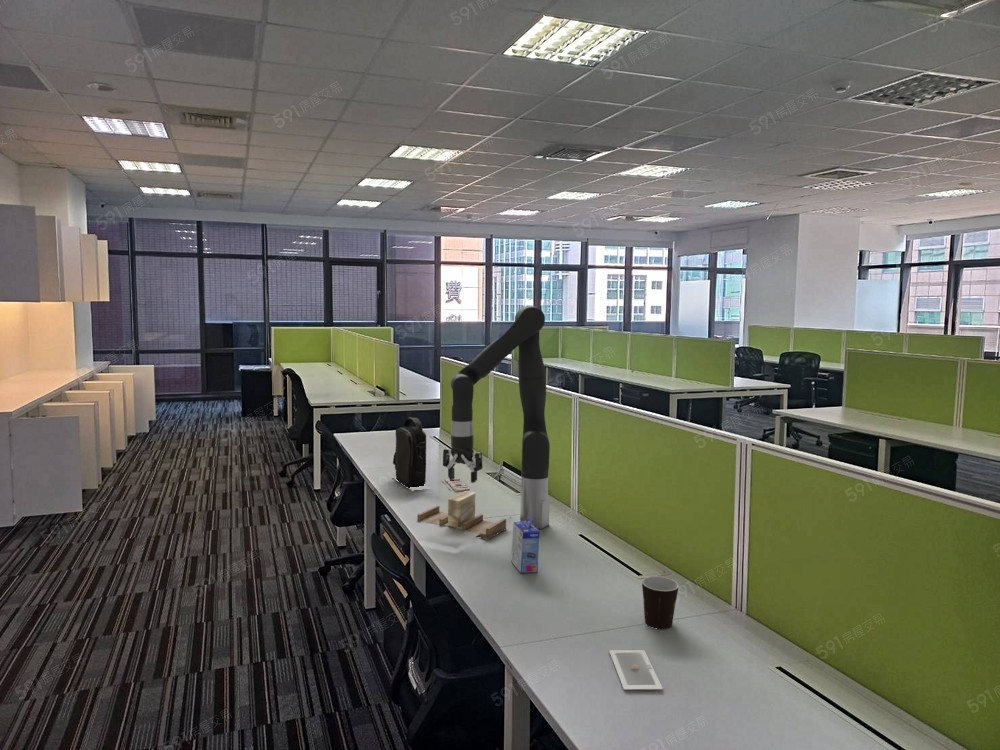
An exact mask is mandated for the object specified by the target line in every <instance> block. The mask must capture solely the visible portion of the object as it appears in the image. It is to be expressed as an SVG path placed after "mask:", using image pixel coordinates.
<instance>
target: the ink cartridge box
mask: <svg viewBox="0 0 1000 750" xmlns="http://www.w3.org/2000/svg"><path fill="white" fill-rule="evenodd" d="M528 520H530V522H529V521H528ZM532 522H533V519H532V518H531V517H530V516H529V517H528V519H527V520H526V521H521V522H520V521H513V523H512V542H511V557H510V558H511V562H512V563H513V565H514V566H515V568H516V569H517V570H518V571H519V573H520V574H524V573H525V574H528V573H529V574H531V573H538V570H539V569H538V568H539V566H538V565H539V551H540V550H539V549H540V548H539V546H540V545H539V544H540V530H539V529H536V528H535V527H534V526H533V525H532Z"/></svg>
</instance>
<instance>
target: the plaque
mask: <svg viewBox="0 0 1000 750" xmlns="http://www.w3.org/2000/svg"><path fill="white" fill-rule="evenodd" d="M453 480H454V481H450V479H449V478H445V479H444V481H445V483H447V482H448V483H447V485H449V487H450V486H451V487H452V489H451V490H453V491H454V492H455V493H457V492H458V491H459V492H471V493H475V491H474V490H470V487H468V486H467V484H465V483H464V481H463V480H461V479H460V477H457V478H455V477H454V479H453ZM451 487H450V488H451Z"/></svg>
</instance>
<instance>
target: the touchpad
mask: <svg viewBox="0 0 1000 750" xmlns="http://www.w3.org/2000/svg"><path fill="white" fill-rule="evenodd" d="M608 652H609V654H610V656H611V659H612V662H613V663H614V667H615V670H616V672H617V675H618V677H619V680H620V682H621V685H622V687H623V688H622V689H623V690H664V688H663V686H662V684H661V682H660V680H659V678H658V675H657V673H656V671H655V669H654V667H653V665H652V663H651V661H650V659H649V657H648V655H647V653H646V651H645V650H644V649H641V650H640V649H639V650H636V649H635V650H633V649H632V650H631V649H630V650H629V649H628V650H627V649H626V650H625V649H624V650H622V649H621V650H619V649H618V650H614V649H612V650H608Z"/></svg>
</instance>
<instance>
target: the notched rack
mask: <svg viewBox="0 0 1000 750" xmlns="http://www.w3.org/2000/svg"><path fill="white" fill-rule="evenodd" d="M416 519H417V521H419V522H422V523H423V522H424V523H427V524H428V523H429V524H433V525H436V526H437V525H438V526H442V527H448V528H451V529H456V530H461V531H466V532H471V533H476V534H478V535H475V538H478V537H481V538H480V539H483V538H486V539H485V540H488V539H489V540H490V539H492V538H493V536H494V535H495V536H497V535H498V534H497V533H499V532H500V533H502V532H503V531H502V530H504V529H505V530H507V519H506V518H502V519H501V520H499V521H496V522H494V521H488V520H484V514H482V513H480V514H477V515H475V517H474V518H472V519H470V520H469V521H467V522H465V523H463V524H462V526H460V527H458V528H457V527H453V526H448V512H444V511H443V512H442V511H440V505H435V506H433V507H431V508H429V509H426V510H424V511H423V512H421V513H418V514H417V518H416ZM505 530H504V531H505ZM501 531H502V532H501ZM500 533H499V534H500ZM496 534H497V535H496ZM495 536H494V537H495ZM491 537H492V538H491Z"/></svg>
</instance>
